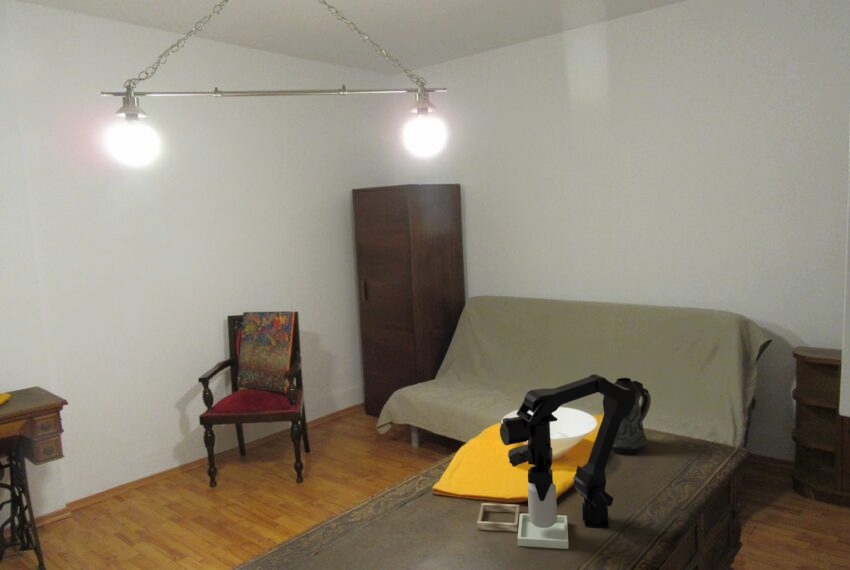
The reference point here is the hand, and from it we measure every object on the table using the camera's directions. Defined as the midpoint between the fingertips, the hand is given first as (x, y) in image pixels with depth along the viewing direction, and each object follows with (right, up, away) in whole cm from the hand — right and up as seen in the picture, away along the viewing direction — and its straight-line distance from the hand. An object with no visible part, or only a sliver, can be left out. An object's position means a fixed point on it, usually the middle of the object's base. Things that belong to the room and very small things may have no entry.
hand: (542, 493), depth 159 cm
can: (+1, -8, +1) cm, 8 cm away
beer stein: (+41, -3, +56) cm, 70 cm away
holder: (-10, -11, +10) cm, 18 cm away
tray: (+1, -11, +1) cm, 12 cm away
